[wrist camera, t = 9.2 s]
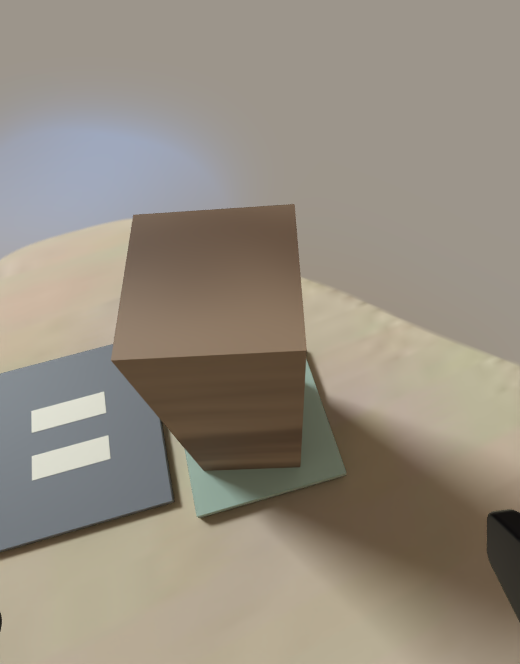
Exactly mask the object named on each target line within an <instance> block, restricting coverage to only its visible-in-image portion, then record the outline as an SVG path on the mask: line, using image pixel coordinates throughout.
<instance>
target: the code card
mask: <svg viewBox="0 0 520 664" xmlns="http://www.w3.org/2000/svg"><path fill="white" fill-rule="evenodd" d="M112 349H113V344H112V345H108V346H104V347H100V348H96V349H92V350H89V351H85V352H81V353H77V354H73V355H69V356H66V357H62V358H58V359H54V360H50V361H47V362H43V363H39V364H35V365H31V366H27V367H24V368H20V369H16V370H12V371H8V372H4V373H1V374H0V552H3V551H6V550H10V549H13V548H16V547H20V546H23V545H27V544H30V543H34V542H37V541H41V540H44V539H48V538H51V537H55V536H58V535H62V534H65V533H68V532H72V531H75V530H79V529H82V528H86V527H89V526H93V525H96V524H100V523H103V522H107V521H110V520H114V519H117V518H120V517H124V516H127V515H131V514H134V513H138V512H141V511H145V510H148V509H152V508H155V507H159V506H162V505H166V504H169V503H172V502H174V497H173V490H172V484H171V478H170V472H169V465H168V459H167V453H166V447H165V440H164V434H163V428H162V421H161V420H160V418H159V417H158V416H157V415H156V414H155V412H154V411H153V410H152V409H151V408H150V407H149V405H148V404H147V403H146V402H145V401H144V399H143V398H142V397H141V396H140V395H139V393H138V392H137V391H136V390H135V389H134V387H133V386H132V385H131V384H130V383H129V382H128V380H127V379H126V378H125V377H124V376H123V374H122V373H121V372H120V371H119V370H118V368H117V367H116V366H115V365H114V364H113V362H112V361H111V356H112Z"/></svg>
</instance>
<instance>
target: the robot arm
mask: <svg viewBox="0 0 520 664" xmlns="http://www.w3.org/2000/svg"><path fill="white" fill-rule="evenodd" d="M487 554H488V558H489V561H490V564H491V566H492V568H493V570H494V572H495V574H496V576H497V578H498V580H499V582H500V584H501V586H502V588H503V590H504V592H505V594H506V596H507V598H508V600H509V602H510V604H511V606H512V608H513V610H514V612H515V614H516V616H517V618H518V620H519V622H520V513H519V512H517V511H515V510H510V509H509V510H501V511H493V512H491V513H489V514H488V517H487ZM1 626H2V617H1V613H0V631H1Z"/></svg>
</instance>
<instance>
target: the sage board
mask: <svg viewBox="0 0 520 664" xmlns="http://www.w3.org/2000/svg"><path fill="white" fill-rule="evenodd" d="M185 454H186V459H187V465H188V471H189V476H190V482H191V487H192V493H193V498H194V504H195V509H196V515H197V517H198V518H202V517H205V516H208V515H212V514H215V513H219V512H222V511H226V510H229V509H232V508H236V507H239V506H243V505H246V504H250V503H253V502H256V501H260V500H263V499H267V498H270V497H274V496H277V495H280V494H284V493H287V492H291V491H294V490H297V489H301V488H304V487H308V486H311V485H315V484H318V483H321V482H325V481H328V480H332V479H335V478H339V477H342V476H345V475H346V470H345V467H344V464H343V461H342V458H341V456H340V453H339V450H338V447H337V444H336V441H335V439H334V436H333V433H332V430H331V427H330V424H329V422H328V419H327V416H326V413H325V410H324V408H323V405H322V402H321V399H320V396H319V393H318V391H317V388H316V385H315V382H314V379H313V376H312V374H311V371H310V368H309V365H308V362H307V360H306V371H305V390H304V409H303V428H302V446H301V465H300V467H292V468H266V469H240V470H214V471H203V470H202V468H201V467H200V466H199V465H198V464H197V462H196V461H195V460H194V459H193V458H192V457H191V455H190V454H189V453H188V452H187V451H186V449H185Z"/></svg>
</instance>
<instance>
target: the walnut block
mask: <svg viewBox="0 0 520 664" xmlns="http://www.w3.org/2000/svg"><path fill="white" fill-rule="evenodd" d="M306 353H307V349H306V337H305V325H304V313H303V301H302V289H301V277H300V265H299V254H298V241H297V229H296V217H295V205H294V204H290V205H275V206H260V207H246V208H230V209H215V210H200V211H185V212H170V213H155V214H140V215H133V220H132V227H131V233H130V240H129V246H128V253H127V259H126V266H125V272H124V279H123V285H122V291H121V298H120V304H119V311H118V317H117V324H116V330H115V337H114V343H113V349H112V356H111V361H112V362H113V364H114V365H115V366H116V367H117V368H118V370H119V371H120V372H121V373H122V374H123V376H124V377H125V378H126V379H127V380H128V382H129V383H130V384H131V385H132V386H133V387H134V389H135V390H136V391H137V392H138V393H139V395H140V396H141V397H142V398H143V399H144V401H145V402H146V403H147V404H148V405H149V407H150V408H151V409H152V410H153V411H154V412H155V414H156V415H157V416H158V417H159V418H160V420H161V421H162V422H163V423H164V424H165V426H166V427H167V428H168V429H169V430H170V432H171V433H172V434H173V435H174V436H175V437H176V439H177V440H178V441H179V442H180V443H181V445H182V446H183V447H184V448H185V449H186V451H187V452H188V453H189V454H190V455H191V457H192V458H193V459H194V460H195V461H196V462H197V464H198V465H199V466H200V467H201V468H202V470H203V471H214V470H240V469H266V468H292V467H300V465H301V446H302V428H303V409H304V390H305V371H306Z"/></svg>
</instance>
